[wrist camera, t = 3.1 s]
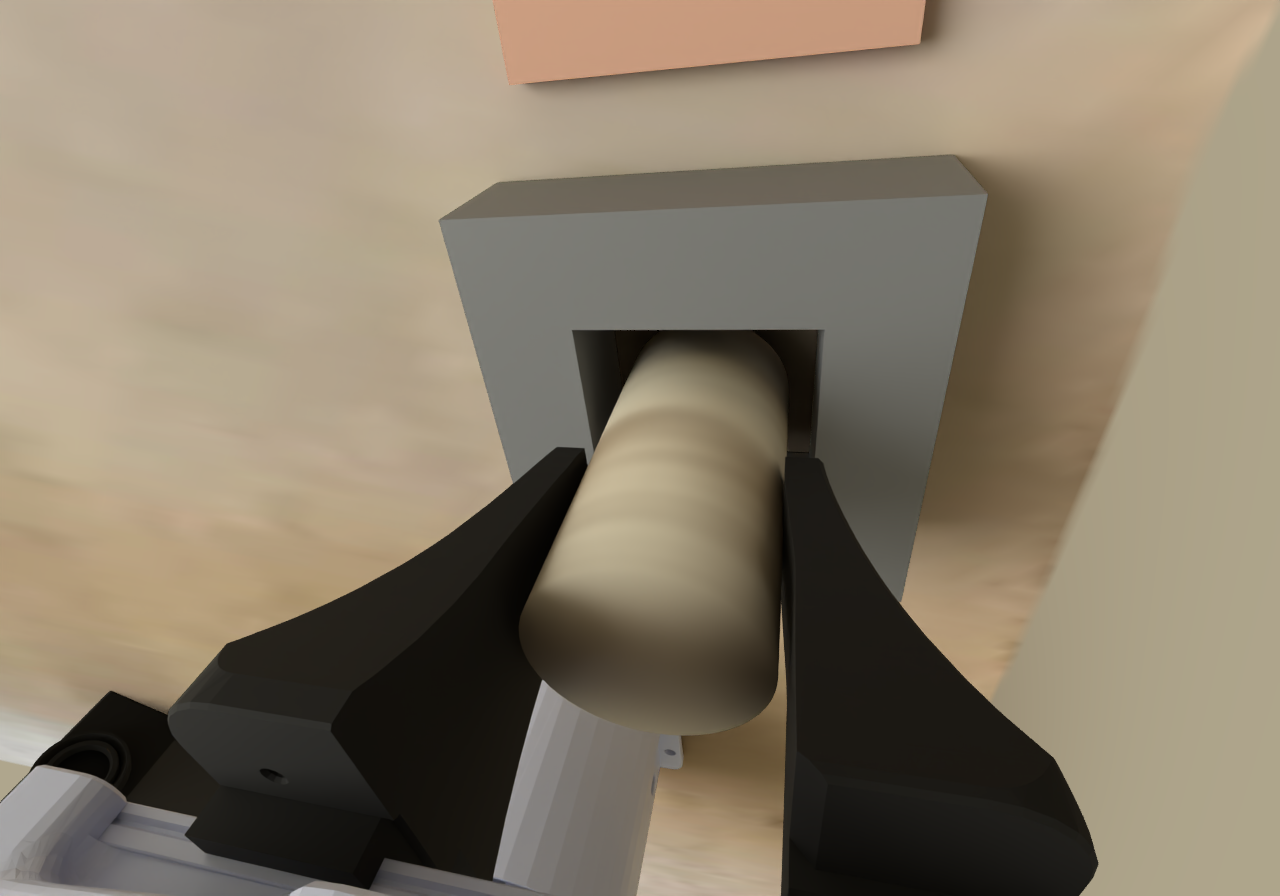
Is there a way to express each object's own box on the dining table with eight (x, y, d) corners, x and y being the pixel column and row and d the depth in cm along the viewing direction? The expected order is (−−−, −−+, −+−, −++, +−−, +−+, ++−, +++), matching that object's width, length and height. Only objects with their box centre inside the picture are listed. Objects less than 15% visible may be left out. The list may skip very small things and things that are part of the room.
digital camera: (267, 749, 39) (180, 872, 34) (263, 778, 43) (183, 895, 37) (108, 680, 38) (-9, 796, 33) (116, 715, 42) (11, 826, 36)
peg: (786, 458, 16) (774, 750, 10) (639, 451, 17) (545, 717, 11) (792, 317, 14) (782, 584, 8) (622, 319, 15) (491, 557, 9)
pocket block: (888, 522, 18) (900, 601, 16) (567, 501, 21) (537, 568, 18) (953, 155, 12) (987, 194, 10) (496, 182, 15) (438, 219, 12)
